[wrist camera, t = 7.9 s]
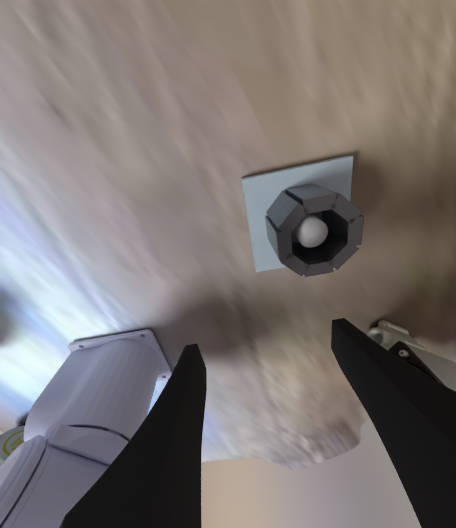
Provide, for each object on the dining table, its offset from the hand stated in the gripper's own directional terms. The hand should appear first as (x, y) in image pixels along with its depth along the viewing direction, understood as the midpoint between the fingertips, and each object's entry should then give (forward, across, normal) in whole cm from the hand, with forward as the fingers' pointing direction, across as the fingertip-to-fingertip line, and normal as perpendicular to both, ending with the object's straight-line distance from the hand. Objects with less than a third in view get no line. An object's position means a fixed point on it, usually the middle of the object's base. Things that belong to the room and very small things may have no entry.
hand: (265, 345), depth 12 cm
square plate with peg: (+10, -5, -3) cm, 11 cm away
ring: (+9, -5, -3) cm, 10 cm away
